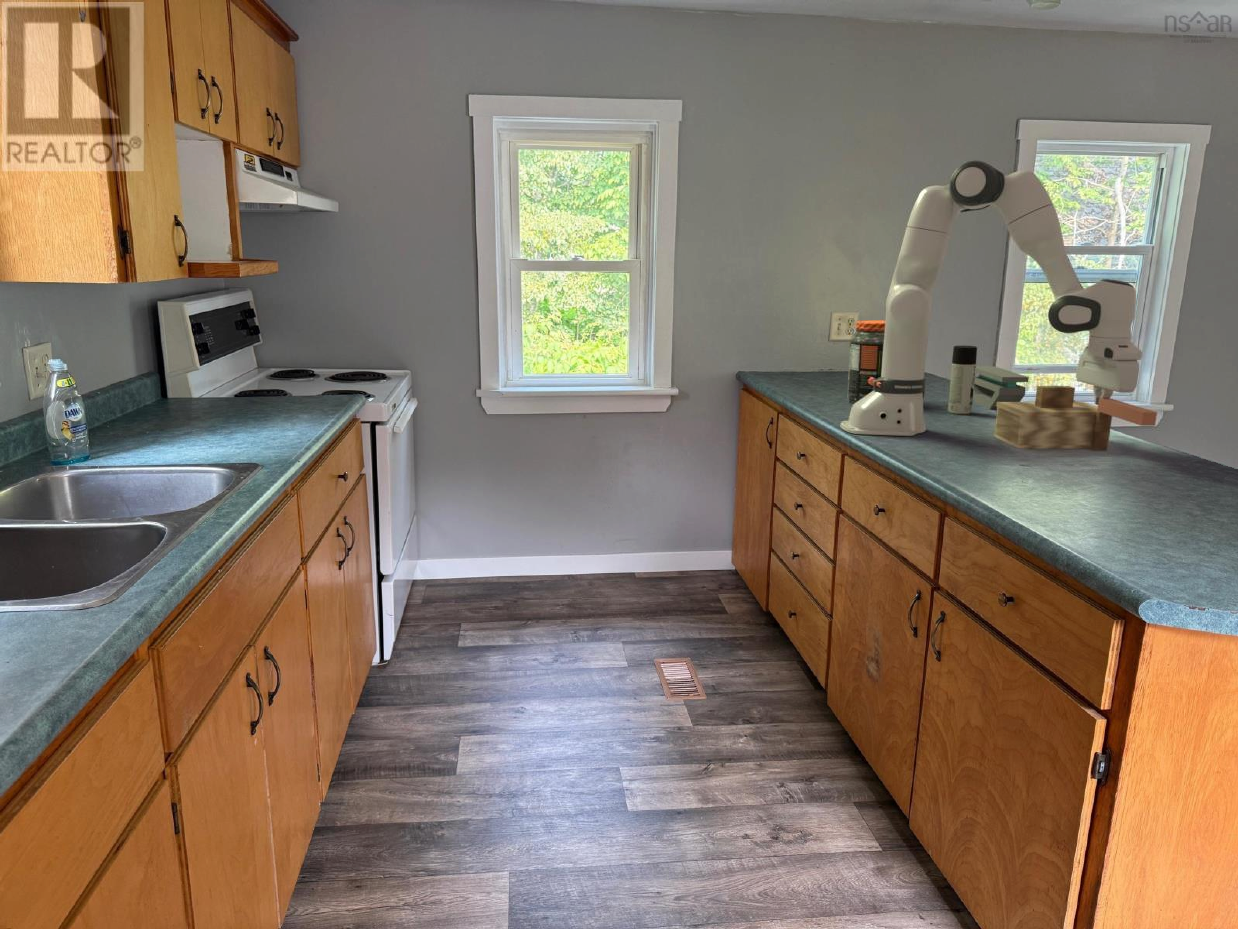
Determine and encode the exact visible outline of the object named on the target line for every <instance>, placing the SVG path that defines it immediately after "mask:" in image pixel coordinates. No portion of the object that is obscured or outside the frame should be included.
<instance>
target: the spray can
mask: <svg viewBox="0 0 1238 929" xmlns="http://www.w3.org/2000/svg"><path fill="white" fill-rule="evenodd" d="M977 353H978V347H977V346H976V345H954V346H953V350H952V358H951V360H952V361H951V371H950V381H949V382H950V384H949V395H948V406H947V407H948V408H947V411H948V412H947V413H950V414H953V415H971V413H972V411H973V410H972V409H973V402H974V399H973V391H974V380H975V377H976V373H975V370H976V366H977V357H978V356H977V355H978V354H977Z"/></svg>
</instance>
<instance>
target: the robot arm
mask: <svg viewBox="0 0 1238 929" xmlns="http://www.w3.org/2000/svg"><path fill="white" fill-rule="evenodd" d="M918 194H919V195H918V196H917V199H916V201H915V203H914V205H913V208H912V209H911V212H910V215H909V219H908V221H907V225H906V228H905V232H904V236H903V239H902V242H901V243H902V244H901V247H900V250H899V255H898V258H897V262H896V266H895V269H894V272H893V275H892V278H891V283H890V286H889V291H888V294H887V298H886V301H885V308H886V309H885V311H886V312H885V320H884V321H885V333H884V345H883V358H882V372H881V377H879V378H878V379H875V378H873V377H871V378H870V379H868V380H870V381H868V383H869V384H871V385H873V391H872V392H871V393H869V394H868V395H866V396H865V397H863V398H862V399H861V400H859V401H858V402H856V403H853V404H852V406H851V408H850V409H851V410H850V412H849V416H848V420H843V421H841V422H840V425H839V426H840V428H841V429H842V430H844V431H845V432H846V433H851V434H855V435H877V436H902V437H903V436H906V437H911V436H915V435H917V434H921V433H925V432H926V431H927V428H926V424H925V417H924V414H925V413H924V399H925V394H926V378H925V370H926V357H927V356H926V355H927V348H928V340H929V331H930V324H931V323H930V322H931V312H932V296H933V293H934V289H935V287H936V284H937V280H938V277H939V274H940V273H941V272H940V271H941V268H942V266H943V262H944V260H945V259H944V258H945V256H946V253H947V248H948V245H949V240H950V238H951V234H952V230H953V227H954V223H955V221H956V218H957V216H958V215H959V214H960V213H965V212H972V211H980V210H984V209H986V208H988V207H990V206H991V207H995V208H996V209H997V210H998V212H999V213H1000V214H1001V217H1002V219H1003V221H1004V224H1005V226H1006V228H1007V230H1008V233H1009V235H1010V237H1011V238H1012V240H1013V242H1014V243H1015V244H1016V247H1018V249H1019V251H1022V252H1023V253H1024V254H1026V255H1027V256H1029V257H1030V258H1031V259H1032V260H1034V261H1035V262H1036V263H1037V264H1038V266H1039V267H1040V268H1041V270H1042V272H1043V275H1044V276H1045V279H1046V281H1047V282H1048V285H1049V287H1050V289H1051V292H1052V294H1053V297H1054V301H1053V303H1052V304H1051V305H1050V307H1049V309H1048V312H1047V317H1048V321H1049V324H1050V325H1051V327H1052V328H1053V329H1054V330H1056V331H1057V332H1060V333H1063V334H1066V335H1067V334H1068V335H1070V334H1071V335H1072V334H1076V333H1080V332H1089V335H1088V336H1089V337H1088V342H1087V343H1088V344H1087V346H1085V348H1084V349H1083V351H1082V353H1081V354H1080V355H1079V360H1078V363H1077V367H1076V371H1075V372H1076V373H1075V377H1076V381H1077V382H1078V383H1079V382H1080V383H1083V384H1087V385H1090V386H1093V388H1092V391H1093V395H1094V405H1095V406H1098V402H1099V399H1111V397H1112V395H1113V393H1114V392H1115V393H1120V394H1121V393H1122V394H1123V393H1124V394H1125V393H1128V394H1129V393H1130V394H1131V393H1133V392H1134V391H1135V389H1136V388H1137V385H1138V380H1139V374H1140V363H1139V361H1141V360H1142V358H1143V351H1142V350H1141V349H1139V348H1138V347H1137V345H1136V344H1134V343H1133V342H1132V337H1133V336H1132V334H1133V333H1132V324H1133V322H1134V320H1135V316H1136V315H1135V314H1136V306H1137V304H1136V303H1137V294H1136V288H1135V287H1134V285H1132V284H1131V283H1129V282H1126V281H1122V280H1117V279H1116V280H1115V279H1109V278H1103V279H1101V280H1099V281H1098V282H1096V283H1094V284H1092V285H1090V286H1087V287H1086V288H1084V286H1082V284H1081V282H1080V280H1079V278H1078V276H1077V274H1076V272H1075V269H1074V267H1073V265H1072V262H1071V261H1070V259H1069V257H1068V255H1067V251H1066V248H1065V243H1064V238H1063V234H1062V228H1061V224H1060V223H1061V222H1060V219H1059V217H1058V216H1059V215H1058V213H1057V210H1056V208H1055V206H1054V203H1053V201H1052V198H1051V196H1050V195H1049V193H1048V191H1047V190H1046V188H1045V186H1044V184H1043V183H1042V182H1041V180H1040V179H1039V177H1038V176H1037V174H1036V173H1034V172H1033V171H1031V170H1027V169H1026V170H1017V171H1015V172H1012V173H1010V174H1008V175H1005V174H1004V173H1003V172H1002V171H1000V170H998V169H997V168H995V167H993V166H992V165H991V164H989V163H987V162H985V161H982V160H970V161H966V162H964V163H962V164H960V165H959V166H958V167H957V168H956V169H955V170H954V171H953V173H952V175H951V177H950V179H949V184H947V185H937V184H936V185H931V186H927V187H925V188H923V189H922V190H921V191H920V192H919V193H918Z"/></svg>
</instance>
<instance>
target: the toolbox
mask: <svg viewBox="0 0 1238 929" xmlns="http://www.w3.org/2000/svg"><path fill="white" fill-rule="evenodd" d="M1073 402H1076V400H1073ZM995 416H996V417H995V426H994V427H995V428H994V434H993V436H994V438H996V439H998V440H1000V441H1002V442H1004V443H1006V444H1008V445H1010V446H1012V447H1015V448H1016V449H1019V450H1023V449H1024V450H1025V449H1029V450H1030V449H1032V450H1033V449H1036V450H1037V449H1038V450H1039V449H1042V450H1043V449H1058V450H1059V449H1091V450H1092V451H1108V448H1109V442H1110V437H1111V436H1110V435H1111V428H1112V421H1113V417H1112V416H1111V415H1108V414H1105V413H1102V412H1096V417H1021V416H1018V415H1016V414H1013V413H1011V412H1008V411H1006V410H1004V409H1001V408H999V407H997V409H996V415H995Z"/></svg>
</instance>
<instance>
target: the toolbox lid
mask: <svg viewBox="0 0 1238 929" xmlns="http://www.w3.org/2000/svg"><path fill="white" fill-rule="evenodd" d="M1075 390H1076V387H1073V386H1070V385H1050V386H1049V385H1037V386H1036V394H1035V401H1020V402H997V405H996V407H999V408H1001V409H1004V410H1006V411H1008V412H1011V413H1013V414H1016V415H1018V416H1021V417H1096V412H1099V411H1097V409H1098V405H1096V404H1092V403H1088V402H1085V401H1075V400H1074V398H1075V393H1076V392H1075ZM1073 400H1074V401H1075V402H1073ZM1113 417H1114V416H1112V418H1113ZM1114 418H1115V417H1114Z"/></svg>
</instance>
